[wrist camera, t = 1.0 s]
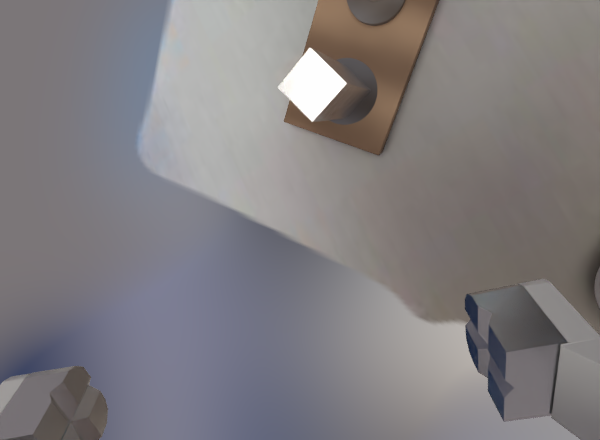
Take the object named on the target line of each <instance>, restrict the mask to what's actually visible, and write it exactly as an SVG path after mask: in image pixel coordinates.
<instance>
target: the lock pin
mask: <svg viewBox="0 0 600 440" xmlns="http://www.w3.org/2000/svg"><path fill="white" fill-rule="evenodd" d="M278 88H279V89H280V90H281V91H282V92H283V93H284V94H285V95H286V96H287V97H288V98H289V99H290V100H291V101H292V102H293V103H294V104H295V105H296V106H297V107H298V108H299V109H300V110H301V111H302V112H303V113H304V114H305V115H306V116H307V117H308V118H309V119H310V120H311V121H312V122H316V121H326V120H335V119H344V118H346V117H347V116H348V115H349V114H350V113H351V112H352V111H353V110H354V108H355V107H356V106H357V105H358V104H359V103H360V102H361V101H362V100H363V99H364V98H365V97H366V95H367V94H368V93H369V92H370V91H371V90H370V89H369V88H368V87H367V86H366V85H365V84H364V83H363V82H362V81H361V80H360V79H359V78H358V77H357V76H356V75H355V74H354V73H353V72H352V71H351V70H350V69H349V68H348V67H347V66H346V65H344V64H342V63H340V62H338V61H336V60H334V59H332V58H330V57H328V56H327V55H325V54H323V53H321V52H319V51H317V50H315V49H313V48H311V47H310V48H309V49H308V51H307V52H306V53H305V54H304V55H303V57H302V58H301V59H300V60H299V62H298V63H297V64H296V65H295V67H294V68H293V69H292V70H291V72H290V73H289V74H288V75H287V76H286V78H285V79H284V80H283V81H282V83H281V84H280V85H279V86H278Z"/></svg>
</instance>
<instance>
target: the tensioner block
mask: <svg viewBox="0 0 600 440" xmlns="http://www.w3.org/2000/svg"><path fill="white" fill-rule="evenodd" d="M438 2H439V0H319V1H318V4H317V7H316V11H315V14H314V18H313V21H312V25H311V28H310V32H309V35H308V39H307V42H306V46H305V49H304V53H303V55H304V54H305V53H306V52H307V51H308V49H309V48H310V47H311V48H313V49H315V50H317V51H319V52H321V53H323V54H325V55H327V56H328V57H330V58H332V59H334V60H336V61H338V62H340V63H342V64H344V65H346V66H347V67H348V68H349V69H350V70H351V71H352V72H353V73H354V74H355V75H356V76H357V77H358V78H359V79H360V80H361V81H362V82H363V83H364V84H365V85H366V86H367V87H368V88H369V89H370V90H371V91H370V92H369V93H368V94H367V95H366V97H365V98H364V99H363V100H362V101H361V102H360V103H359V104H358V105H357V106H356V107H355V108H354V110H353V111H352V112H351V113H350V114H349V115H348V116H347V117H346V118H344V119H335V120H326V121H316V122H312V121H311V120H310V119H309V118H308V117H307V116H306V115H305V114H304V113H303V112H302V111H301V110H300V109H299V108H298V107H297V106H296V105H295V104H294V103H293V102H292V101H291V100H290V101H289V105H288V108H287V112H286V115H285V119H284V122H286V123H289V124H292V125H295V126H298V127H300V128H303V129H306V130H309V131H312V132H315V133H317V134H320V135H323V136H326V137H329V138H331V139H334V140H337V141H340V142H343V143H345V144H348V145H351V146H354V147H357V148H359V149H362V150H365V151H368V152H371V153H373V154H376V155H380V154H381V153H382V151H383V149H384V146H385V143H386V141H387V138H388V135H389V133H390V130H391V127H392V125H393V122H394V119H395V117H396V114H397V111H398V109H399V106H400V103H401V101H402V98H403V95H404V93H405V90H406V87H407V85H408V82H409V79H410V77H411V74H412V71H413V69H414V66H415V63H416V61H417V58H418V55H419V53H420V50H421V47H422V45H423V42H424V40H425V37H426V34H427V32H428V29H429V26H430V24H431V21H432V18H433V16H434V13H435V10H436V8H437V5H438ZM302 57H303V56H302Z"/></svg>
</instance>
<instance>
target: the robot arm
mask: <svg viewBox="0 0 600 440" xmlns="http://www.w3.org/2000/svg"><path fill="white" fill-rule="evenodd" d="M465 310H466V312H467V314H468V315H469V317H470V320H469V322H468V323H467V324H466V339H467V344H468V348H469V352H470V355H471V357H472V360H473V362H474V364H475V366H476V368H477V370H478V372H479V373H481V374H482V375H484V376H485V377H487V378H488V392H489V394H490V396H491V398H492V400H493V402H494V404H495V405H496V408H497V410H498V411H499V413H500V415H501V417H502V419H503V421H504V422H505V421H512V420H520V419H527V418H534V417H542V416H550V415H552V417H551V418H552V419H554V420H555V421H557V422H558V423H559V424H560V425H562V426H563V427H564V428H566V429H567V430H568V431H570V432H571V433H573V434H574V435H576V437H578V438H579V439H580V440H600V335H599V334H598V333H597V332H596V331H595V330H594V329H593V328H592V327H591V325H590V324H589V323H588V322H587V321H586V320H585V319H584V318H583V317H582V316H581V315H580V314H579V312H578V311H577V310H576V309H575V308H574V307H573V306H572V305H571V304H570V303H569V302H568V301H567V300H566V298H565V297H564V296H563V295H562V294H561V293H560V292H559V291H558V290H557V289H556V288H555V287H554V286H553V284H552V283H551V282H550V281H548V280H546V279H539V280H534V281H529V282H524V283H519V284H517V285H510V286H505V287H500V288H495V289H490V290H484V291H479V292H474V293H469V294H466V298H465ZM90 378H91V377H90V375H89V374H88V373H87V371H86V370H85V368H84V367H79V366H73V367H67V368H60V369H54V370H48V371H41V372H35V373H32V374H26V375H19V376H12V377H10V378H9V379H7V380H5V381H3V382H2V384H1V385H0V440H99V439H100V438H101V437H102V434H103V432H104V429H105V427H106V424H107V412H108V408H107V404H106V400H105V398H104V397H103V395H102V393H101V392H100V391H99V390H97V389H95V388H93V387H91V386H89V382H90Z"/></svg>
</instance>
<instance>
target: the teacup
mask: <svg viewBox="0 0 600 440" xmlns="http://www.w3.org/2000/svg"><path fill="white" fill-rule="evenodd" d="M594 287H595V297H596V301H597V304H598V306H599V309H600V267H599V269H598V272H597V274H596V278H595V286H594Z"/></svg>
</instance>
